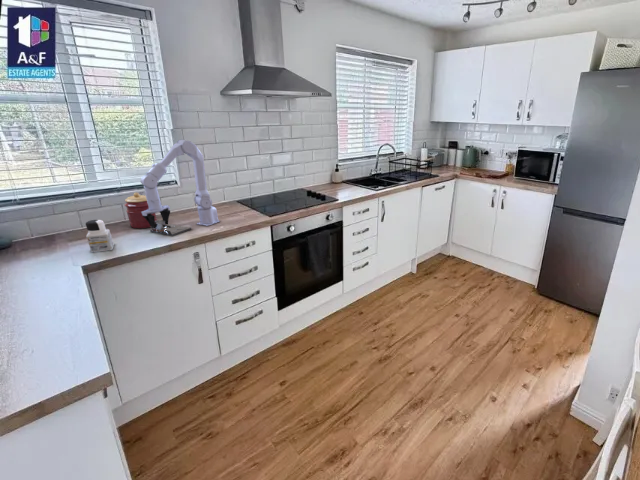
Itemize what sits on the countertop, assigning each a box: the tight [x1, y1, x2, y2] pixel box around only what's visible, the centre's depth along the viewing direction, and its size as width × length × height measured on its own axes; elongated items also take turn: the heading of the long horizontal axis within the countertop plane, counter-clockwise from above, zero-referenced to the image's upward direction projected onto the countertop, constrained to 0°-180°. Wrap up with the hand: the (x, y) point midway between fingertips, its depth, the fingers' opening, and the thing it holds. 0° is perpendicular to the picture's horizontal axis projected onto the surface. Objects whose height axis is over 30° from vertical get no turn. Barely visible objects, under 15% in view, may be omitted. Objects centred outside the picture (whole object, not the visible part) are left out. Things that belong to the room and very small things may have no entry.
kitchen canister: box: [124, 191, 158, 229], centre depth 196 cm, size 13×13×18 cm
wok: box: [155, 219, 171, 230], centre depth 190 cm, size 6×10×4 cm, turn 70°
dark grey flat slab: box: [150, 223, 192, 237], centre depth 193 cm, size 12×15×1 cm
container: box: [85, 219, 115, 253], centre depth 165 cm, size 8×8×13 cm
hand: (160, 226), depth 191 cm, fingers open, 7 cm apart
